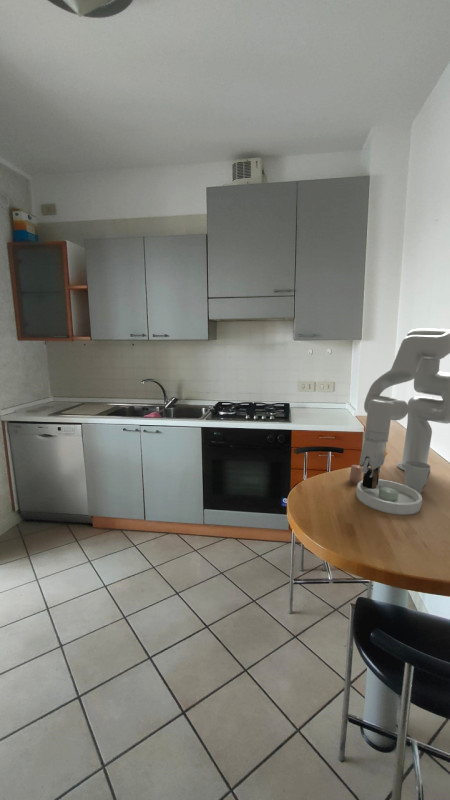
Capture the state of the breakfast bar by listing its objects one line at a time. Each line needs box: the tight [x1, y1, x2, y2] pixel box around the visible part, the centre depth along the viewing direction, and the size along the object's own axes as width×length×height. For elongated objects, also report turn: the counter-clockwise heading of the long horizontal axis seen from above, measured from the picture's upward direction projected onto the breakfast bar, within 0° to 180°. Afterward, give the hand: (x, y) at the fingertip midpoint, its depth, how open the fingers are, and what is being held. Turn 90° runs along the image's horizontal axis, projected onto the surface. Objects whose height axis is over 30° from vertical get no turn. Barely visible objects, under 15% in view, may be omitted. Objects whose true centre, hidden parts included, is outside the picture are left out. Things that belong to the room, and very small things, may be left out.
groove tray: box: [355, 478, 423, 516], centre depth 122 cm, size 20×20×4 cm
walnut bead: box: [366, 469, 378, 489], centre depth 126 cm, size 4×4×6 cm
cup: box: [404, 461, 431, 494], centre depth 131 cm, size 8×8×10 cm
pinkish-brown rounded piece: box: [349, 464, 363, 485], centre depth 137 cm, size 4×4×6 cm
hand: (370, 485), depth 126 cm, fingers closed on walnut bead, 4 cm apart
